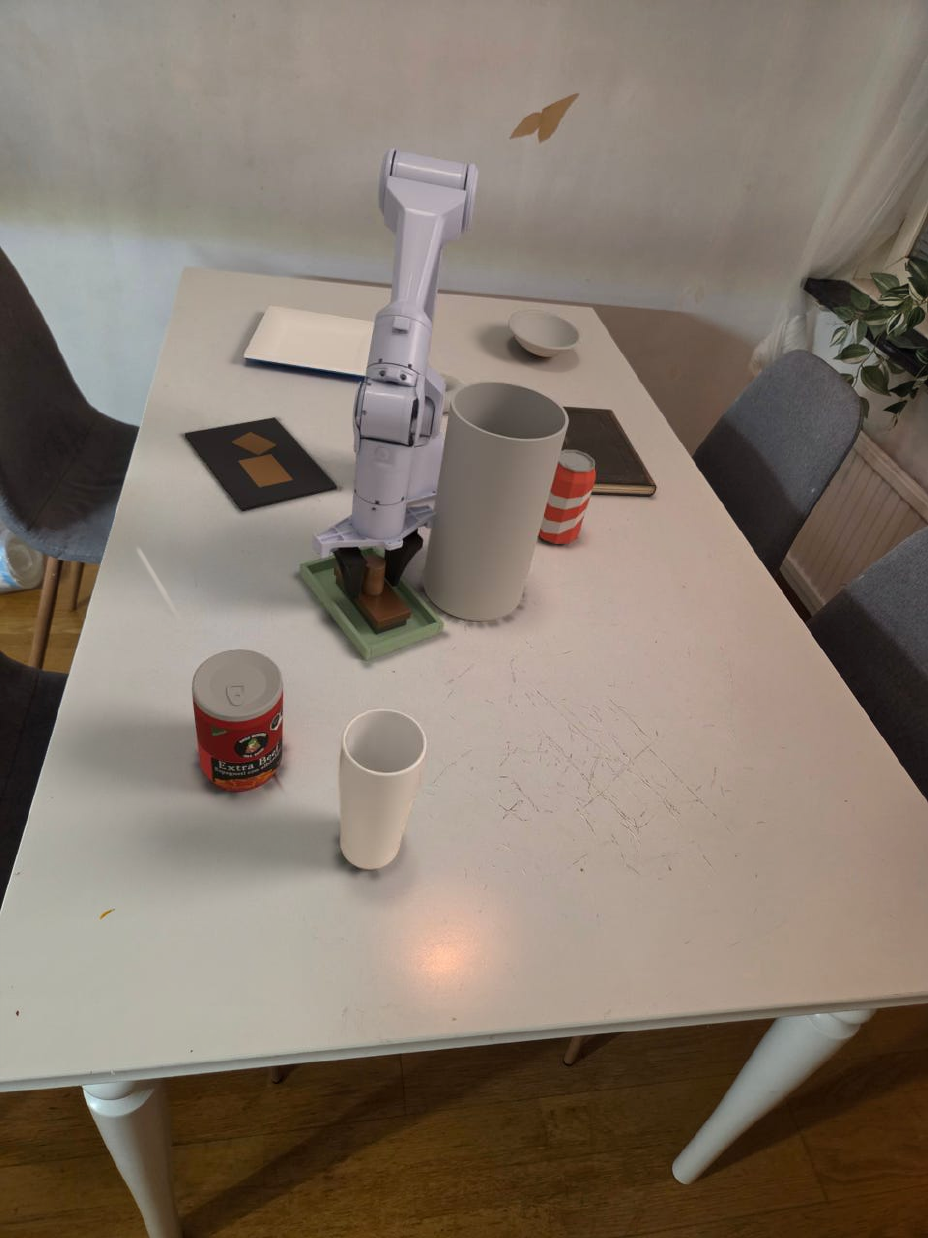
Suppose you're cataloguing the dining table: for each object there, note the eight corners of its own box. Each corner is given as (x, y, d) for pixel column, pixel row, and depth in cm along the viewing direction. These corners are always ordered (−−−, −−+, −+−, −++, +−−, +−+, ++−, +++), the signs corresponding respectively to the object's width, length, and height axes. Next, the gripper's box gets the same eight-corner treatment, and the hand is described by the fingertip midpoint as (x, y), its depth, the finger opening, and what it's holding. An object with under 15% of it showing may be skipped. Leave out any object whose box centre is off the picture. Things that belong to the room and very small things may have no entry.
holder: (372, 555, 102) (373, 543, 101) (441, 635, 93) (444, 623, 92) (299, 576, 97) (299, 564, 96) (365, 662, 88) (366, 650, 87)
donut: (400, 408, 132) (459, 421, 131) (402, 388, 129) (462, 402, 129) (415, 383, 139) (470, 395, 139) (417, 364, 137) (473, 376, 136)
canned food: (212, 804, 72) (204, 726, 65) (190, 739, 77) (181, 659, 70) (294, 779, 75) (296, 702, 68) (268, 718, 80) (267, 640, 73)
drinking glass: (332, 812, 73) (341, 705, 63) (406, 813, 75) (426, 708, 65) (330, 880, 68) (339, 775, 58) (408, 880, 70) (430, 777, 60)
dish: (501, 329, 162) (506, 305, 159) (570, 339, 164) (576, 315, 160) (505, 367, 149) (511, 342, 146) (580, 378, 151) (587, 353, 147)
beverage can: (524, 531, 111) (543, 456, 103) (551, 515, 115) (572, 442, 107) (557, 553, 109) (579, 478, 101) (585, 536, 112) (608, 463, 104)
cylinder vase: (471, 547, 106) (507, 371, 90) (540, 598, 101) (592, 421, 84) (401, 581, 99) (426, 396, 82) (471, 639, 93) (513, 453, 77)
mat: (274, 419, 123) (274, 416, 122) (336, 488, 112) (337, 485, 111) (184, 435, 115) (184, 432, 115) (241, 511, 104) (241, 507, 104)
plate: (376, 387, 135) (377, 376, 134) (242, 367, 133) (242, 355, 132) (387, 333, 152) (388, 323, 151) (268, 315, 150) (268, 304, 148)
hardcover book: (555, 493, 120) (559, 480, 118) (522, 415, 136) (525, 403, 135) (653, 497, 123) (658, 484, 122) (610, 421, 140) (614, 409, 138)
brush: (333, 581, 96) (335, 539, 92) (365, 572, 99) (368, 530, 94) (376, 637, 91) (380, 594, 86) (409, 626, 93) (415, 584, 89)
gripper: (337, 526, 78) (331, 626, 87) (458, 495, 86) (441, 590, 95) (305, 488, 82) (302, 588, 91) (423, 461, 89) (409, 556, 98)
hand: (371, 587), depth 93 cm, fingers open, 5 cm apart
